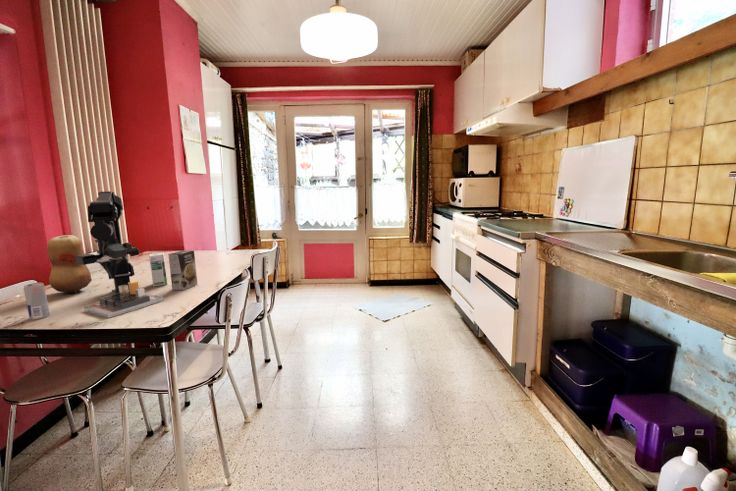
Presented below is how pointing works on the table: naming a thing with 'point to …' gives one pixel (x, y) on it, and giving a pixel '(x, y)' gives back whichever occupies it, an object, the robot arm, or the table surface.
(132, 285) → the orange rectangular block
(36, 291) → the white carton
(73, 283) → the butternut squash
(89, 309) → the panel
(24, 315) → the table surface
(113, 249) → the robot arm
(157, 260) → the syrup box
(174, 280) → the coffee box
